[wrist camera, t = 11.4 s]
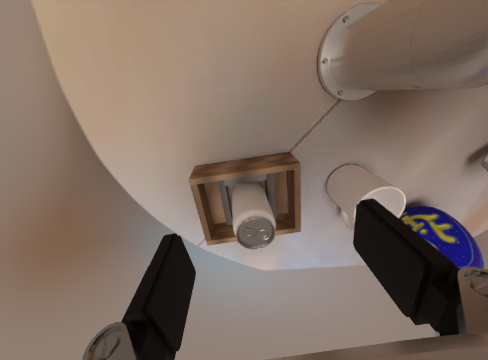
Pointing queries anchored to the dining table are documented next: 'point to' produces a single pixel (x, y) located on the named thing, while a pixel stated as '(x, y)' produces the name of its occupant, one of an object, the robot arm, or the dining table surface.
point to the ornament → (444, 235)
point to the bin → (242, 171)
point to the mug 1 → (362, 192)
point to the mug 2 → (485, 162)
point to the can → (252, 216)
